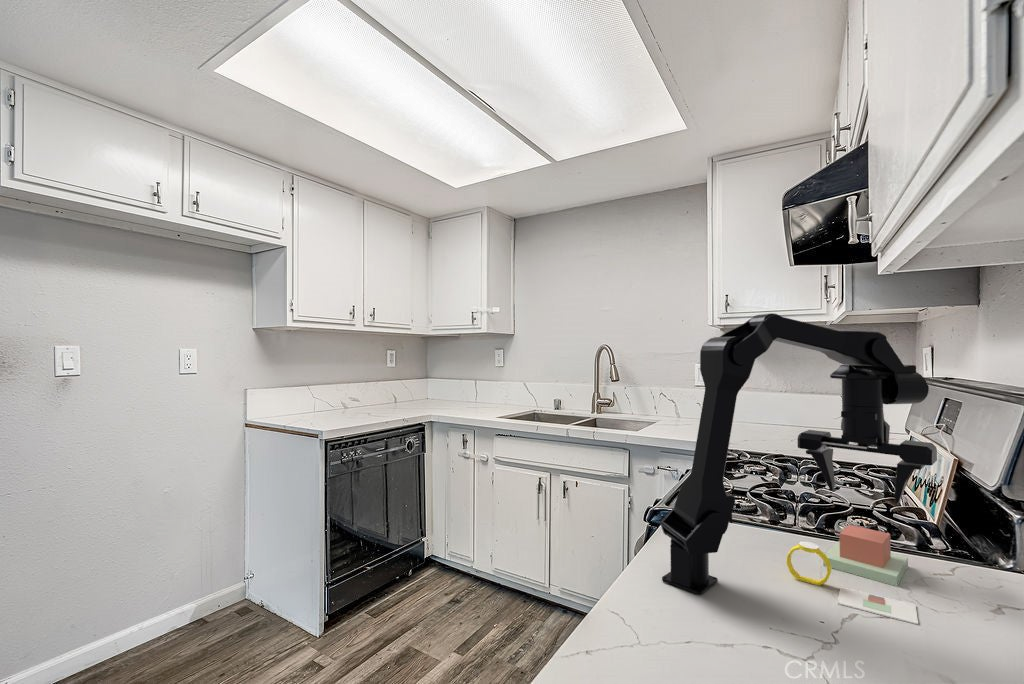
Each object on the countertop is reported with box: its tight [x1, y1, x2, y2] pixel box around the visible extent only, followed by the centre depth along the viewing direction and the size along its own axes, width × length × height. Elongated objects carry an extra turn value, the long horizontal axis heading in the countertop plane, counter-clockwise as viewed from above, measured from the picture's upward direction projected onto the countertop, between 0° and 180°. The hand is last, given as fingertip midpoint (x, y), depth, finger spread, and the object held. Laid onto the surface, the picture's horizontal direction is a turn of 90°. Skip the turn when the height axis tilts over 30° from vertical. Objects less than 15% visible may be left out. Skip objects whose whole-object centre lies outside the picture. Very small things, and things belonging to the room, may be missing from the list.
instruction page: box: [837, 586, 919, 626], centre depth 70 cm, size 6×9×1 cm, turn 53°
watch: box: [786, 541, 832, 587], centre depth 78 cm, size 6×3×6 cm, turn 49°
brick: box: [838, 524, 892, 568], centre depth 83 cm, size 6×6×4 cm
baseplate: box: [822, 540, 909, 587], centre depth 83 cm, size 10×10×2 cm
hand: (863, 496), depth 83 cm, fingers open, 9 cm apart
